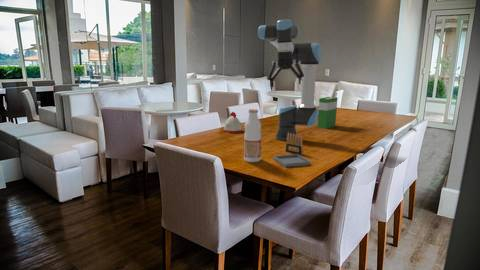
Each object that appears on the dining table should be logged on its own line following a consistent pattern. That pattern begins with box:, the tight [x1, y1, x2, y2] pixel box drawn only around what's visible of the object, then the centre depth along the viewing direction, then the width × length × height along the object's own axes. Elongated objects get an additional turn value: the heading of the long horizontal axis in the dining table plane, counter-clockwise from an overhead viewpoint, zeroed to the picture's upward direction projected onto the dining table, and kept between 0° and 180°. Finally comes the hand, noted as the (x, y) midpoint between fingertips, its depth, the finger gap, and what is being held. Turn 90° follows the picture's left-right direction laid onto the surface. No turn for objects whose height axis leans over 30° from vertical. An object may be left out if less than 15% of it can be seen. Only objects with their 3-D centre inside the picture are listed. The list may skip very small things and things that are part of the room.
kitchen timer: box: [223, 111, 243, 134], centre depth 252 cm, size 14×14×15 cm
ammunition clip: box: [285, 132, 304, 156], centre depth 195 cm, size 11×2×12 cm, turn 50°
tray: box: [273, 153, 311, 169], centre depth 178 cm, size 15×15×2 cm
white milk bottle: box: [243, 108, 262, 163], centre depth 178 cm, size 9×9×28 cm
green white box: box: [317, 96, 338, 130], centre depth 270 cm, size 18×7×24 cm, turn 139°
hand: (285, 91), depth 176 cm, fingers open, 13 cm apart
